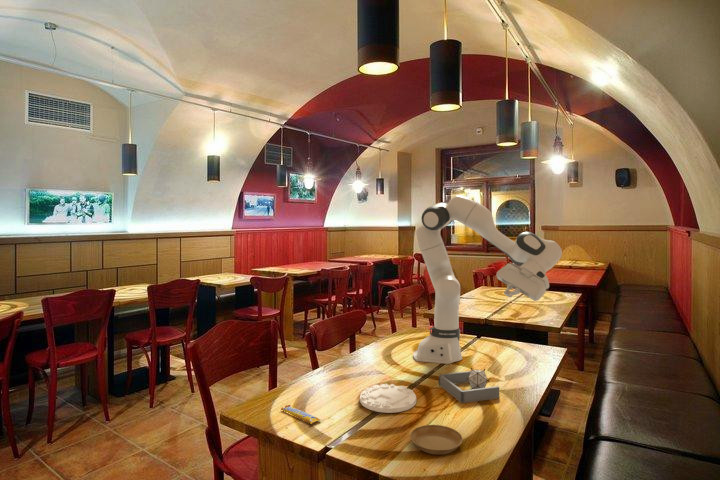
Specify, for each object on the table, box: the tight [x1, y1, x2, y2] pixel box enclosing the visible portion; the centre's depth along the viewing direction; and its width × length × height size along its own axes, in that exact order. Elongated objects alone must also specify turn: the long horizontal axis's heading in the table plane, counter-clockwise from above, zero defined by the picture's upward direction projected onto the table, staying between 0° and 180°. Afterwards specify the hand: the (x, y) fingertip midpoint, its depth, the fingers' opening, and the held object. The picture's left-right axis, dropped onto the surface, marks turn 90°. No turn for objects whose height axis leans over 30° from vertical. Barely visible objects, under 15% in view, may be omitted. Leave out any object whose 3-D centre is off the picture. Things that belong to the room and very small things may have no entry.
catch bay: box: [438, 370, 500, 404], centre depth 163 cm, size 15×18×4 cm
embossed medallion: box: [359, 383, 417, 414], centre depth 154 cm, size 20×20×3 cm
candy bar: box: [280, 404, 322, 425], centre depth 143 cm, size 17×4×2 cm, turn 48°
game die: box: [466, 367, 490, 390], centre depth 164 cm, size 9×8×10 cm
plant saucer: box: [409, 424, 464, 456], centre depth 124 cm, size 15×15×3 cm
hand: (506, 295), depth 172 cm, fingers closed
